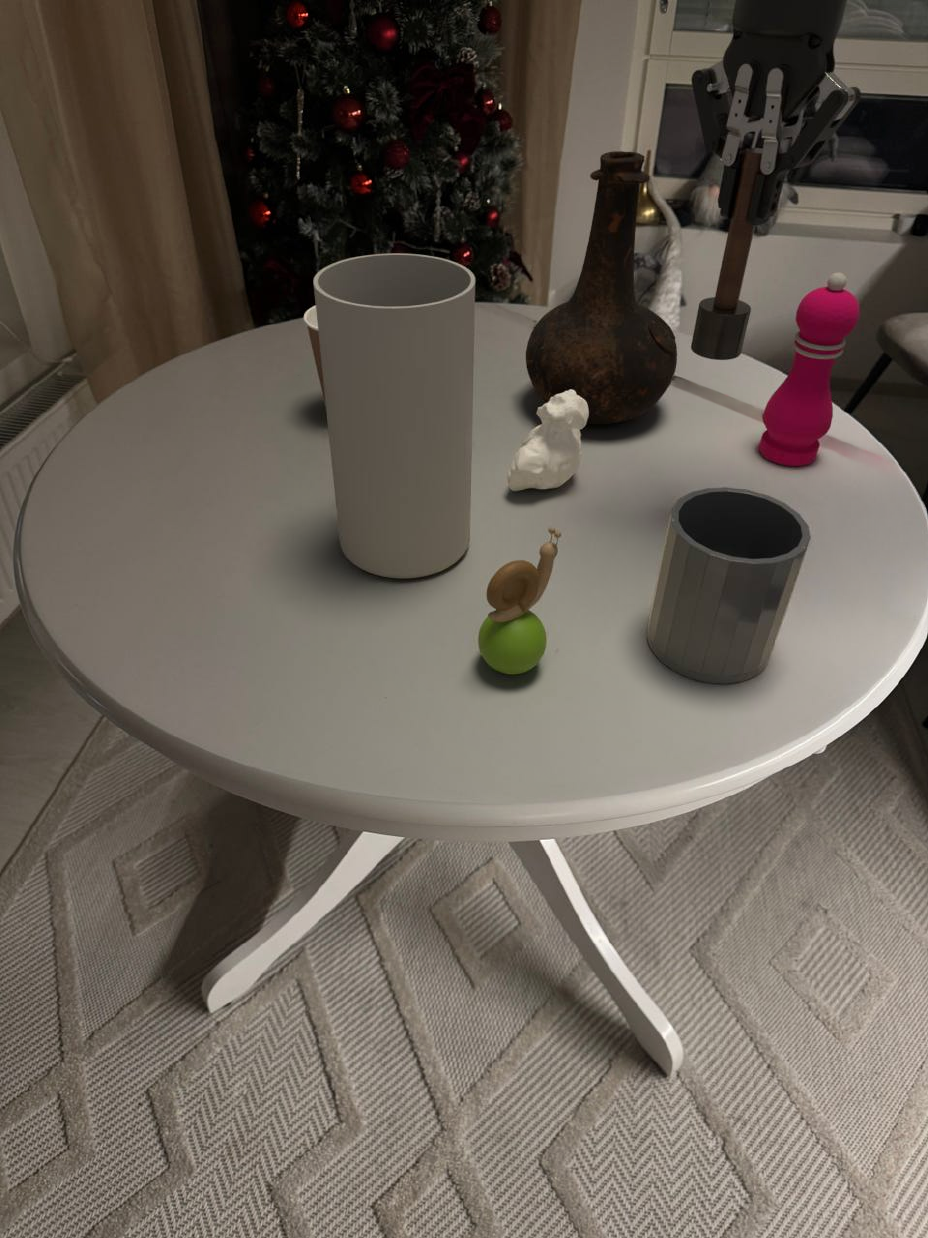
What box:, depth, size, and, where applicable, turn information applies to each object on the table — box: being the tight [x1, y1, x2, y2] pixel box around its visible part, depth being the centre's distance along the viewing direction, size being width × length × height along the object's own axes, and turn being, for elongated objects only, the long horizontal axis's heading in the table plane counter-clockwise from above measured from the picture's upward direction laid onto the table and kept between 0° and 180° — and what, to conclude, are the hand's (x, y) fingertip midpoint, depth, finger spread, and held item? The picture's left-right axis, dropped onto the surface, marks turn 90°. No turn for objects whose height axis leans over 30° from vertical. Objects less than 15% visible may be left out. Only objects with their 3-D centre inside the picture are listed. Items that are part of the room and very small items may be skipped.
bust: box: [506, 389, 589, 492], centre depth 88 cm, size 12×8×11 cm
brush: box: [690, 147, 763, 361], centre depth 71 cm, size 4×4×16 cm
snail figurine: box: [477, 526, 562, 675], centre depth 65 cm, size 5×6×12 cm
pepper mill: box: [758, 272, 861, 467], centre depth 90 cm, size 7×7×20 cm
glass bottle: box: [525, 150, 678, 425], centre depth 95 cm, size 18×18×28 cm
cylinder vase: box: [313, 253, 476, 579], centre depth 73 cm, size 12×12×25 cm
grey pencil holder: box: [646, 486, 812, 685], centre depth 67 cm, size 10×10×12 cm
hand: (743, 218), depth 69 cm, fingers closed on brush, 2 cm apart
